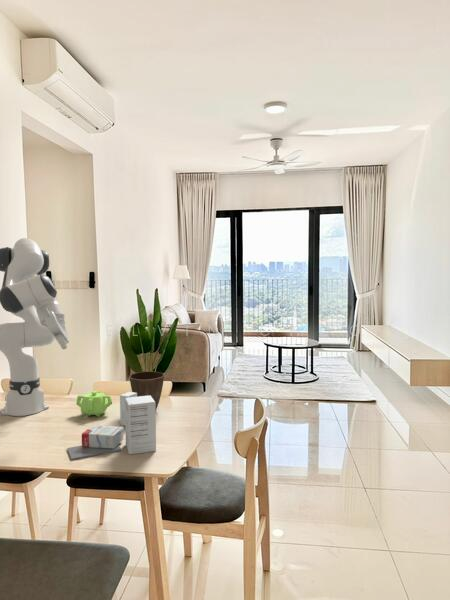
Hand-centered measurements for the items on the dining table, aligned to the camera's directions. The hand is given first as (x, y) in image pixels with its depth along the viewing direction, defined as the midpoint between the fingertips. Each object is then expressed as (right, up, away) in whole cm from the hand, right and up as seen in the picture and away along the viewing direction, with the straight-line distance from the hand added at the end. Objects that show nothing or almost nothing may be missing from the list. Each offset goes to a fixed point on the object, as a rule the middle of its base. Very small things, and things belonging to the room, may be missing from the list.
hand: (64, 347), depth 156 cm
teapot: (+4, -31, +24) cm, 40 cm away
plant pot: (+26, -31, +28) cm, 49 cm away
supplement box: (+31, -33, -11) cm, 47 cm away
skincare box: (+21, -32, +13) cm, 40 cm away
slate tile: (+15, -33, -14) cm, 39 cm away
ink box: (+11, -30, -9) cm, 33 cm away
